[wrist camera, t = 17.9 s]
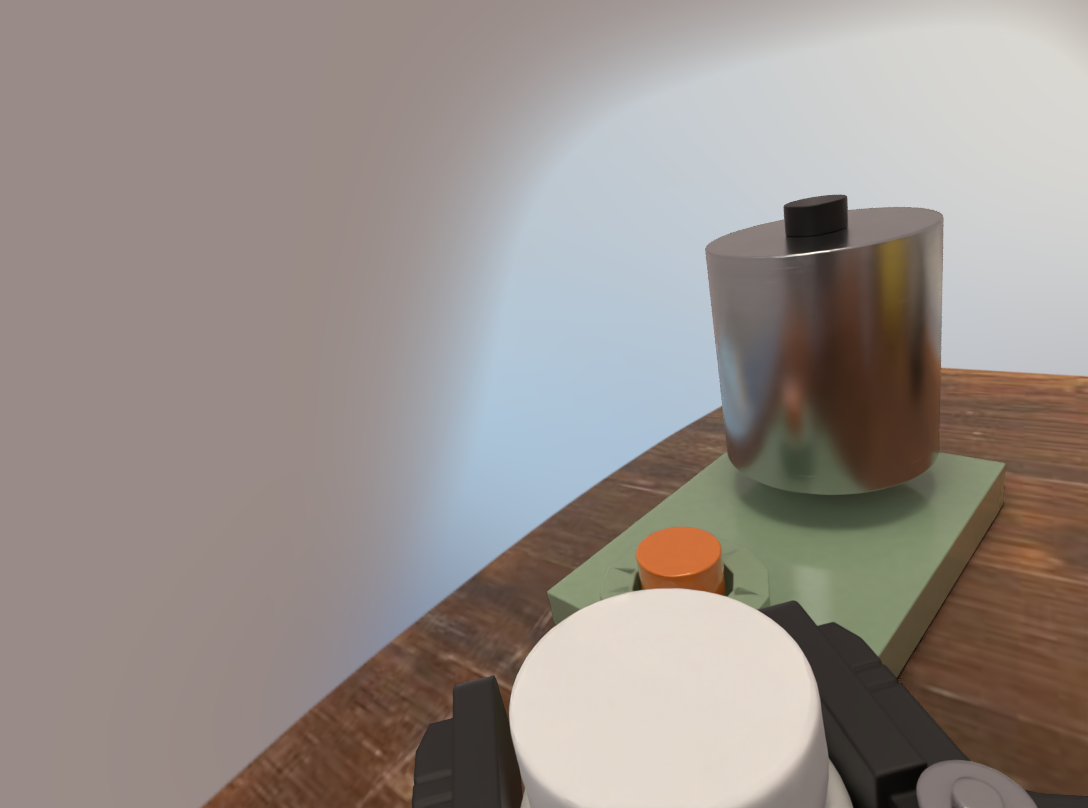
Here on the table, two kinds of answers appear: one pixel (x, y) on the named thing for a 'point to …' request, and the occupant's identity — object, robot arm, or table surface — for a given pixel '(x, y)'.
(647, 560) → the orange push button
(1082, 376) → the table surface
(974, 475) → the base
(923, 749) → the robot arm
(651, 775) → the pill bottle
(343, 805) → the table surface
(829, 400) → the kettle
